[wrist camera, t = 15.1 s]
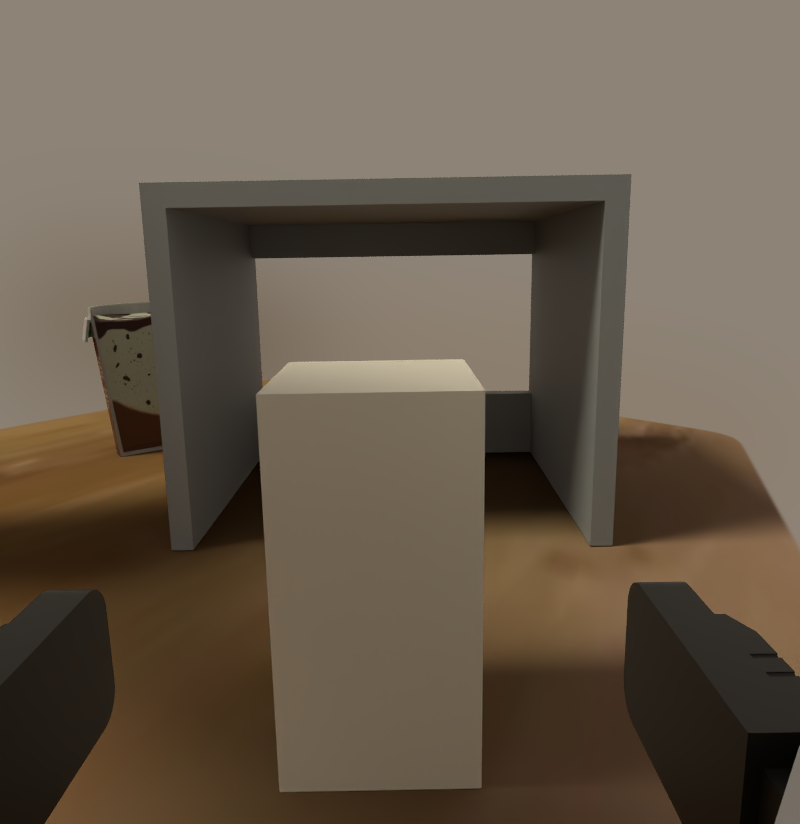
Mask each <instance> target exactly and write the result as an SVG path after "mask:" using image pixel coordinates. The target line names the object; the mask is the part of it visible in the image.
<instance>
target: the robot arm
mask: <svg viewBox="0 0 800 824" xmlns="http://www.w3.org/2000/svg"><path fill="white" fill-rule="evenodd" d="M624 690H625V698H626V704H627V708H628V712H629V716H630V719H631V721H632V723H633V726H634V728H635V730H636V732H637V734H638V736H639V738H640V740H641V742H642V744H643V746H644V748H645V750H646V752H647V754H648V756H649V758H650V760H651V762H652V764H653V766H654V768H655V770H656V772H657V774H658V776H659V778H660V780H661V782H662V784H663V786H664V788H665V790H666V792H667V794H668V796H669V798H670V800H671V802H672V804H673V806H674V808H675V810H676V812H677V814H678V816H679V818H680V820H681V822H682V824H800V677H799V676H795V672H794V670H793V669H792V668H791V667H790V666H789V665H788V664H787V663H786V662H785V661H784V660H783V659H782V658H778V656H777V653H776V652H775V651H774V650H773V648H772V647H771V646H770V645H769V644H768V643H767V642H766V641H765V640H764V639H763V638H762V637H761V636H760V635H759V634H758V633H757V632H756V631H754V630H752V629H751V628H749V627H747V626H745V625H743V624H742V623H740V622H738V621H736V620H735V619H733V618H731V617H729V616H728V615H726V614H714V613H713V612H712V611H711V610H710V609H709V608H708V606H707V605H706V604H705V603H704V602H703V601H702V600H701V599H700V597H699V596H698V595H697V594H696V593H695V592H694V591H693V590H692V588H691V587H690V586H689V585H688V584H687V583H685V582H638V583H633V584H632V585H631V587H630V590H629V595H628V608H627V627H626V647H625V666H624ZM114 693H115V684H114V674H113V665H112V656H111V647H110V638H109V630H108V621H107V612H106V605H105V601H104V598H103V596H102V594H101V593H100V592H99V591H98V590H52V591H45V592H43V593H42V594H40V595H39V596H38V597H37V598H36V599H35V600H34V601H33V602H32V603H30V604H29V605H28V606H27V607H26V608H25V609H24V610H23V611H22V612H21V613H20V614H18V615H17V616H16V617H15V618H14V619H13V620H12V621H11V622H10V623H9V624H4V625H3V626H1V627H0V824H45V822H46V820H47V819H48V817H49V816H50V814H51V813H52V811H53V809H54V808H55V806H56V805H57V803H58V802H59V800H60V799H61V797H62V795H63V794H64V792H65V791H66V789H67V788H68V786H69V784H70V783H71V781H72V780H73V778H74V777H75V775H76V773H77V772H78V770H79V769H80V767H81V766H82V764H83V763H84V761H85V759H86V758H87V756H88V755H89V753H90V752H91V750H92V748H93V747H94V745H95V744H96V742H97V741H98V739H99V737H100V736H101V734H102V733H103V731H104V730H105V728H106V726H107V724H108V722H109V719H110V716H111V712H112V708H113V703H114Z"/></svg>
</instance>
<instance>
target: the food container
mask: <svg viewBox="0 0 800 824" xmlns="http://www.w3.org/2000/svg"><path fill="white" fill-rule="evenodd" d="M89 337H93V342H94V346H95V351H96V356H97V360H98V365H99V369H100V374H101V379H102V384H103V387H104V393H105V397H106V402H107V407H108V411H109V416H110V421H111V425H112V430H113V435H114V439H115V444H116V449H117V453H118V455H119V456H120V457H123V456H128V455H134V454H140V453H146V452H151V451H157V450H163V447H162V436H161V425H160V413H159V402H158V391H157V380H156V368H155V357H154V346H153V335H152V323H151V312H150V302H138V303H122V304H109V305H100V306H93V307H89V308H88V317H85V318H84V327H83V336H82V340H83V341H84V342H87V341H88V338H89Z"/></svg>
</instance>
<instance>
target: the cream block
mask: <svg viewBox="0 0 800 824" xmlns="http://www.w3.org/2000/svg"><path fill="white" fill-rule="evenodd" d="M256 407H257V424H258V441H259V457H260V474H261V491H262V508H263V525H264V541H265V558H266V575H267V592H268V609H269V626H270V642H271V659H272V676H273V693H274V710H275V726H276V743H277V760H278V777H279V792H316V791H368V790H420V789H472V788H482V693H483V587H484V480H485V390H484V388H483V387H482V385H481V384H480V382H479V381H478V379H477V378H476V377H475V375H474V374H473V372H472V371H471V369H470V368H469V366H468V365H467V364H466V362H465V361H464V359H455V360H453V359H452V360H450V359H449V360H391V361H334V362H333V361H331V362H289V363H288V364H287V365H286V366H285V367H284V368H283V369H282V370H281V371H280V372H279V373H277V374H276V375H275V377H273V378H272V379H271V380H270V381H269V382H268V383H267V384H266V385H265V386H264V387H263V388H262V389H261V390H260V391H259V392H258V393H257V394H256Z"/></svg>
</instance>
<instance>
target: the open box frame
mask: <svg viewBox="0 0 800 824" xmlns="http://www.w3.org/2000/svg"><path fill="white" fill-rule="evenodd" d="M139 188H140V199H141V211H142V222H143V233H144V244H145V256H146V267H147V277H148V289H149V301H150V312H151V323H152V335H153V346H154V357H155V368H156V380H157V391H158V402H159V413H160V425H161V436H162V447H163V458H164V470H165V481H166V492H167V503H168V515H169V526H170V537H171V549H172V550H194V549H195V547H196V546H197V545H198V543H199V542H200V541H201V539H202V538H203V537H204V535H205V534H206V532H207V531H208V530H209V528H210V527H211V526H212V524H213V523H214V522H215V520H216V519H217V517H218V516H219V515H220V513H221V512H222V511H223V509H224V508H225V507H226V505H227V504H228V502H229V501H230V500H231V498H232V497H233V496H234V494H235V493H236V492H237V490H238V489H239V487H240V486H241V485H242V483H243V482H244V481H245V479H246V478H247V477H248V475H249V474H250V473H251V471H252V470H253V468H254V467H255V466H256V464H257V463H258V462H259V460H260V457H259V441H258V424H257V407H256V394H257V393H258V392H259V391H260V390H261V389H262V372H261V354H260V336H259V319H258V301H257V284H256V266H255V258H307V257H369V256H432V255H494V254H532V288H531V292H532V293H531V332H530V375H529V391H485V452H531V454H532V455H533V457H534V458H535V460H536V462H537V463H538V465H539V466H540V468H541V469H542V471H543V473H544V474H545V476H546V477H547V479H548V480H549V482H550V484H551V485H552V487H553V488H554V490H555V491H556V493H557V494H558V496H559V498H560V499H561V501H562V502H563V504H564V505H565V507H566V509H567V510H568V512H569V513H570V515H571V516H572V518H573V519H574V521H575V523H576V524H577V526H578V527H579V529H580V530H581V532H582V534H583V535H584V537H585V538H586V540H587V541H588V543H589V544H590V546H613V527H614V507H615V487H616V467H617V447H618V428H619V407H620V387H621V367H622V348H623V329H624V327H623V326H624V309H625V288H626V287H625V286H626V269H627V249H628V229H629V210H630V209H629V208H630V189H631V174H626V175H625V174H624V175H568V176H511V177H458V178H457V177H451V178H395V179H342V180H339V179H338V180H284V181H283V180H282V181H280V180H279V181H222V182H165V183H139Z"/></svg>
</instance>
